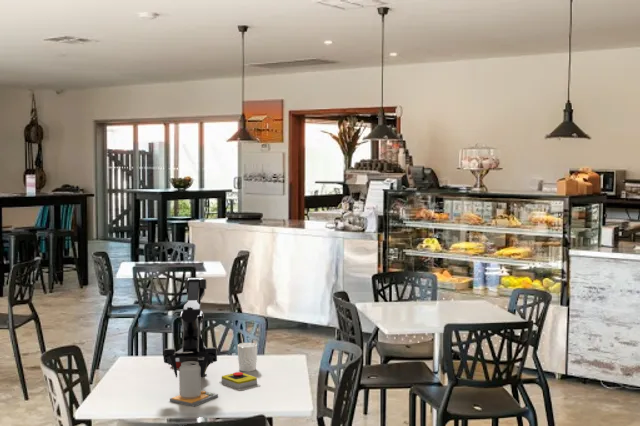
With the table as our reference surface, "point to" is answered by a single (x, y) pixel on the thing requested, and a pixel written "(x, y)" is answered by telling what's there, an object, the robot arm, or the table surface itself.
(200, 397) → the indicator board
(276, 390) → the table surface
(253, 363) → the white cup
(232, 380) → the emergency button
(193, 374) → the can
